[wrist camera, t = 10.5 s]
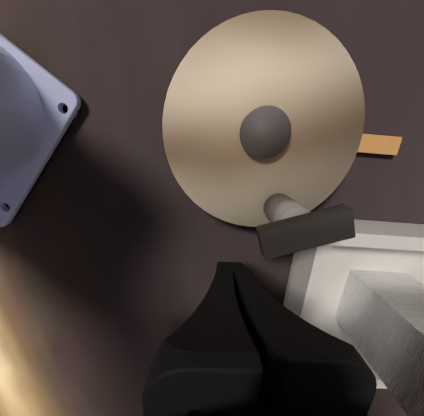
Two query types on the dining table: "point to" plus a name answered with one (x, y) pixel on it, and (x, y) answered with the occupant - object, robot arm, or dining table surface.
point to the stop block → (388, 330)
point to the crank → (267, 128)
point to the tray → (340, 266)
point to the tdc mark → (379, 144)
